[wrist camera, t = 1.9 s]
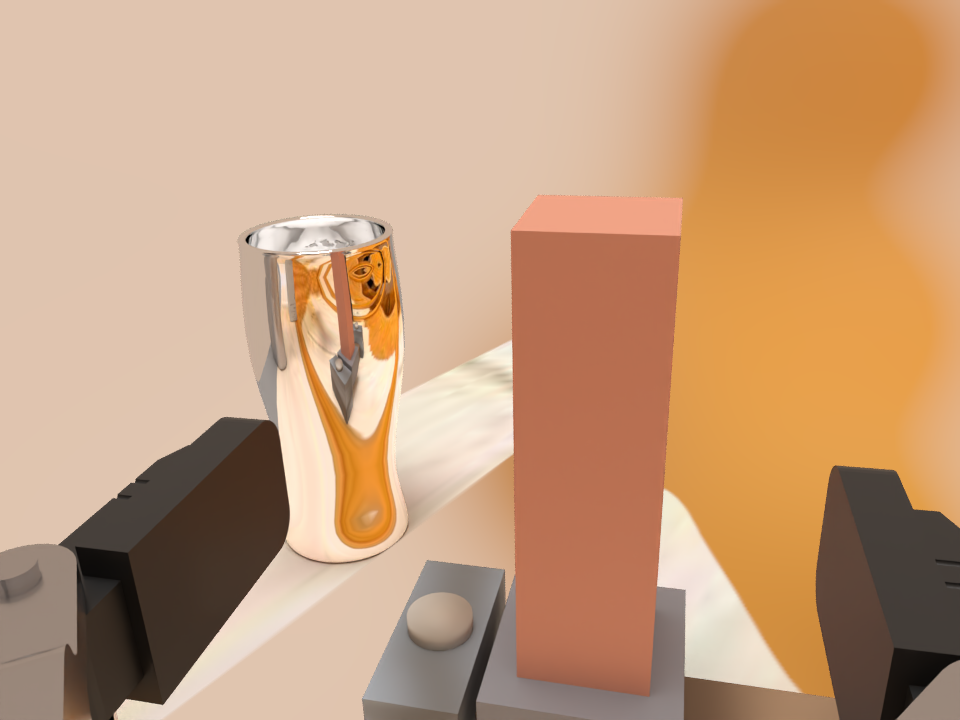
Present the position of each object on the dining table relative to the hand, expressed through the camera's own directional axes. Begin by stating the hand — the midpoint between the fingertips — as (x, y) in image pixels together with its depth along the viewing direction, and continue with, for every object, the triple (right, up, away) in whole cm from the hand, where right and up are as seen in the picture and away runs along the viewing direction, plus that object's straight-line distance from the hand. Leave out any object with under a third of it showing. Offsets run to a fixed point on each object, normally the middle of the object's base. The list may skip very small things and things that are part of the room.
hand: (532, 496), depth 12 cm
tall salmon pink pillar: (+3, -10, +16) cm, 19 cm away
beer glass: (-7, -7, +30) cm, 31 cm away
